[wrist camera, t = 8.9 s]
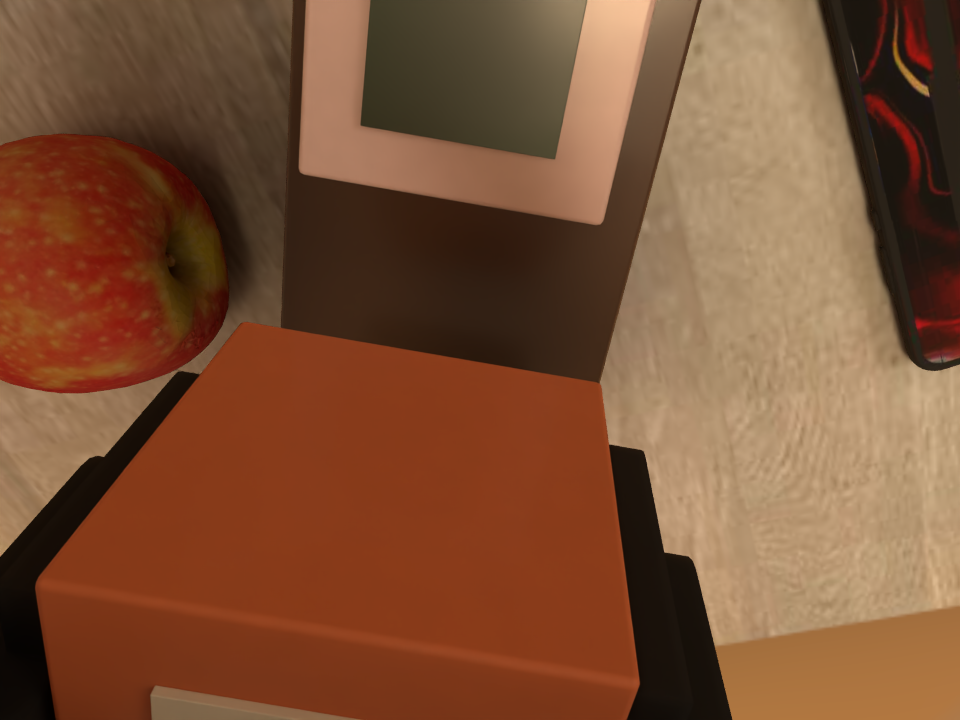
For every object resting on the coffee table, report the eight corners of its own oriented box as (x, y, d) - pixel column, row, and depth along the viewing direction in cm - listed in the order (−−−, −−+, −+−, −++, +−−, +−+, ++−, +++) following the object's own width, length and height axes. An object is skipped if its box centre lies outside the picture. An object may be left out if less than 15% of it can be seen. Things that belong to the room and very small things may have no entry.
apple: (273, 318, 29) (187, 439, 22) (63, 335, 30) (-82, 455, 23) (214, 97, 26) (90, 157, 18) (-21, 124, 26) (-224, 190, 19)
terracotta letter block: (238, 586, 12) (77, 925, 8) (241, 318, 10) (21, 591, 6) (534, 636, 12) (529, 999, 8) (602, 380, 10) (645, 697, 6)
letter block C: (359, 114, 16) (294, 177, 11) (381, -158, 13) (310, -202, 9) (586, 154, 16) (603, 230, 12) (644, -110, 13) (690, -134, 9)
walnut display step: (340, 487, 33) (266, 688, 24) (397, -166, 22) (300, -238, 13) (517, 517, 33) (508, 727, 24) (663, -118, 22) (744, -158, 13)
